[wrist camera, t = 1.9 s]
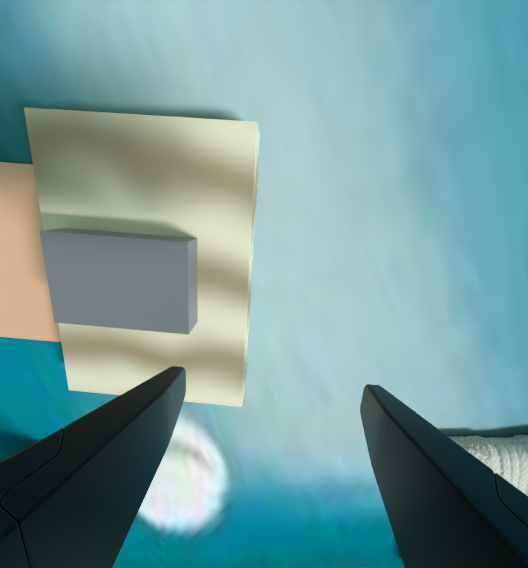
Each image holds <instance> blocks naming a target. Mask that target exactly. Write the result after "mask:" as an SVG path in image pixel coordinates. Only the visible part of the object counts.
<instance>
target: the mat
mask: <svg viewBox="0 0 528 568" xmlns="http://www.w3.org/2000/svg"><path fill="white" fill-rule="evenodd" d="M39 231H43V225H42V218H41V212H40V206H39V200H38V193H37V187H36V181H35V175H34V168H33V164H21V163H7V162H0V337H10V338H21V339H32V340H43V341H54V342H61V337H60V331H59V325H58V323H54V317H53V311H52V305H51V299H50V292H49V286H48V280H47V274H46V268H45V262H44V256H43V250H42V244H41V238H40V232H39Z"/></svg>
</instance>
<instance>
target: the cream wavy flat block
mask: <svg viewBox="0 0 528 568" xmlns="http://www.w3.org/2000/svg"><path fill="white" fill-rule="evenodd" d="M24 112H25V119H26V125H27V131H28V137H29V144H30V150H31V156H32V162H33V168H34V175H35V181H36V187H37V193H38V200H39V206H40V212H41V218H42V225H43V230H52V229H60V228H71V229H84V230H97V231H110V232H123V233H136V234H149V235H162V236H175V237H188V238H197V297H198V322H197V323H196V325H195V326H194V328H193V329H192V330H191V332H190V333H189V335H188V334H177V333H166V332H154V331H143V330H132V329H121V328H109V327H98V326H87V325H76V324H64V323H58V325H59V331H60V337H61V343H62V350H63V356H64V362H65V368H66V375H67V381H68V387H69V390H73V391H83V392H93V393H104V394H114V395H122V394H123V393H125V392H127V391H129V390H131V389H132V388H134V387H136V386H138V385H139V384H141V383H143V382H145V381H146V380H148V379H150V378H152V377H153V376H155V375H157V374H159V373H161V372H162V371H164V370H166V369H168V368H169V367H171V366H178V367H184V368H185V370H186V394H185V398H184V401H186V402H196V403H207V404H217V405H227V406H238V407H242V401H243V396H244V391H245V382H246V365H247V348H248V330H249V313H250V296H251V278H252V261H253V243H254V226H255V209H256V191H257V174H258V156H259V139H260V131H259V127H258V124H257V122H253V121H236V120H220V119H204V118H188V117H172V116H155V115H139V114H123V113H107V112H91V111H74V110H58V109H42V108H26V107H24Z"/></svg>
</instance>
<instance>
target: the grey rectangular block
mask: <svg viewBox="0 0 528 568" xmlns="http://www.w3.org/2000/svg"><path fill="white" fill-rule="evenodd" d="M39 232H40V238H41V244H42V250H43V256H44V262H45V268H46V274H47V280H48V286H49V292H50V299H51V305H52V311H53V317H54V323H64V324H76V325H87V326H98V327H109V328H121V329H132V330H143V331H154V332H166V333H177V334H188V335H189V333H190V332H191V330H192V329H193V328H194V326H195V325H196V323H197V322H198V297H197V238H188V237H175V236H162V235H149V234H136V233H123V232H110V231H97V230H84V229H71V228H60V229H52V230H43V231H39Z"/></svg>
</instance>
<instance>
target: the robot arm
mask: <svg viewBox="0 0 528 568" xmlns="http://www.w3.org/2000/svg"><path fill="white" fill-rule="evenodd" d="M185 394H186V370H185V368H184V367H178V366H171V367H169V368H168V369H166V370H164V371H162V372H161V373H159V374H157V375H155V376H153V377H152V378H150V379H148V380H146V381H145V382H143V383H141V384H139V385H138V386H136V387H134V388H132V389H131V390H129V391H127V392H125V393H123V394H122V395H120V396H118V397H116V398H115V399H113V400H111V401H109V402H108V403H106V404H104V405H102V406H101V407H99V408H97V409H95V410H93V411H92V412H90V413H88V414H86V415H85V416H83V417H81V418H79V419H78V420H76V421H74V422H72V423H70V424H69V425H67V426H66V427H65V429H64V428H62V429H60V430H58V431H56V432H54V433H53V434H51V435H49V436H47V437H46V438H44V439H42V440H40V441H38V442H36V443H35V444H33V445H31V446H29V447H27V448H25V449H24V450H22V451H20V452H18V453H16V454H14V455H12V456H10V457H8V458H6V459H4V460H2V461H0V568H112V567H113V565H114V563H115V560H116V558H117V556H118V554H119V552H120V550H121V547H122V545H123V543H124V541H125V539H126V536H127V534H128V532H129V530H130V528H131V526H132V523H133V521H134V519H135V517H136V515H137V513H138V510H139V508H140V506H141V504H142V502H143V499H144V497H145V495H146V493H147V491H148V489H149V486H150V484H151V482H152V480H153V478H154V476H155V473H156V471H157V469H158V467H159V465H160V462H161V460H162V458H163V456H164V454H165V452H166V449H167V447H168V445H169V442H170V439H171V436H172V433H173V431H174V428H175V425H176V422H177V419H178V416H179V413H180V410H181V407H182V404H183V401H184V398H185ZM360 413H361V418H362V423H363V428H364V432H365V437H366V442H367V446H368V451H369V456H370V460H371V464H372V468H373V471H374V474H375V478H376V481H377V484H378V487H379V490H380V493H381V496H382V499H383V502H384V505H385V509H386V512H387V515H388V518H389V521H390V524H391V527H392V530H393V533H394V536H395V540H396V543H397V546H398V549H399V552H400V555H401V558H402V561H403V564H404V567H405V568H528V496H527V495H526V494H524V493H523V492H522V491H520V490H519V489H517V488H516V487H515V486H513V485H512V484H511V483H509V482H508V481H507V480H505V479H504V478H503V477H501V476H500V475H499V474H497V473H494V471H493V470H492V469H491V468H489V467H488V466H487V465H485V464H484V463H483V462H481V461H480V460H479V459H477V458H476V457H475V456H473V455H472V454H471V453H469V452H468V451H467V450H465V449H464V448H463V447H461V446H460V445H459V444H457V443H456V442H455V441H453V440H452V439H451V438H449V437H448V436H447V435H445V434H444V433H442V432H441V431H440V430H438V429H437V428H436V427H434V426H433V425H432V424H430V423H429V422H428V421H426V420H425V419H424V418H422V417H421V416H420V415H418V414H417V413H416V412H414V411H413V410H412V409H410V408H409V407H408V406H406V405H405V404H404V403H402V402H401V401H400V400H398V399H397V398H396V397H394V396H393V395H392V394H390V393H389V392H388V391H386V390H385V389H384V388H382V387H381V386H379V385H370V384H367V385H366V386H365V388H364V392H363V396H362V401H361V406H360Z"/></svg>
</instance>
